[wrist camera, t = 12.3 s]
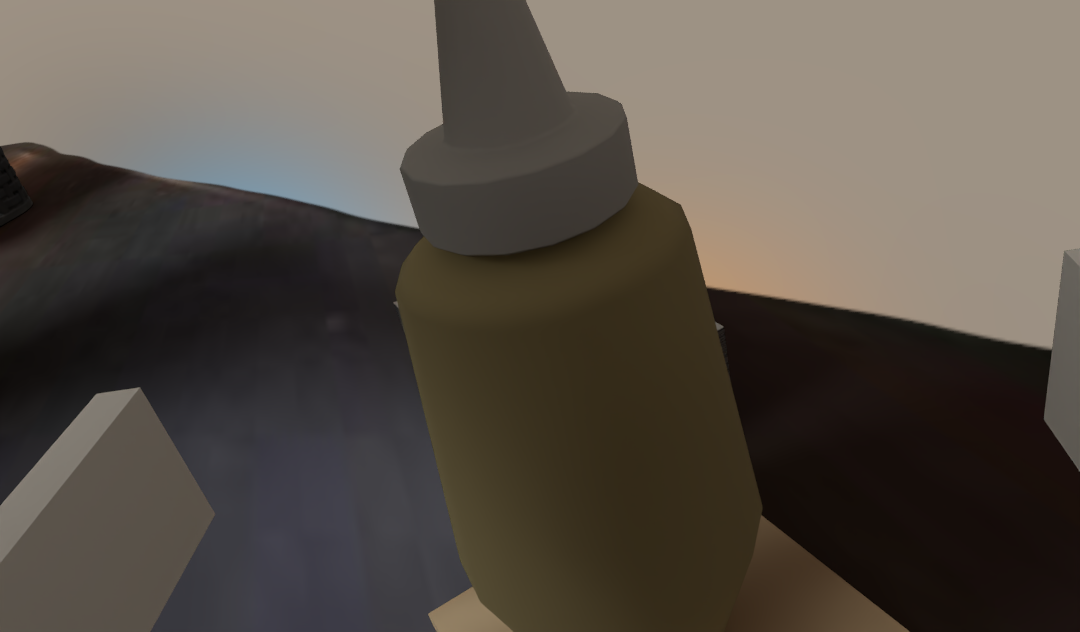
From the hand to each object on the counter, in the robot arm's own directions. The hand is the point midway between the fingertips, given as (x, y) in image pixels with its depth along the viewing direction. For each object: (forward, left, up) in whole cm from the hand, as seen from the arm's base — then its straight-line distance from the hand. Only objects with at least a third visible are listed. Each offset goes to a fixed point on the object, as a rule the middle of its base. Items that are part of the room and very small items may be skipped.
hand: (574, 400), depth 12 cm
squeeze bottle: (-6, +3, -12) cm, 14 cm away
